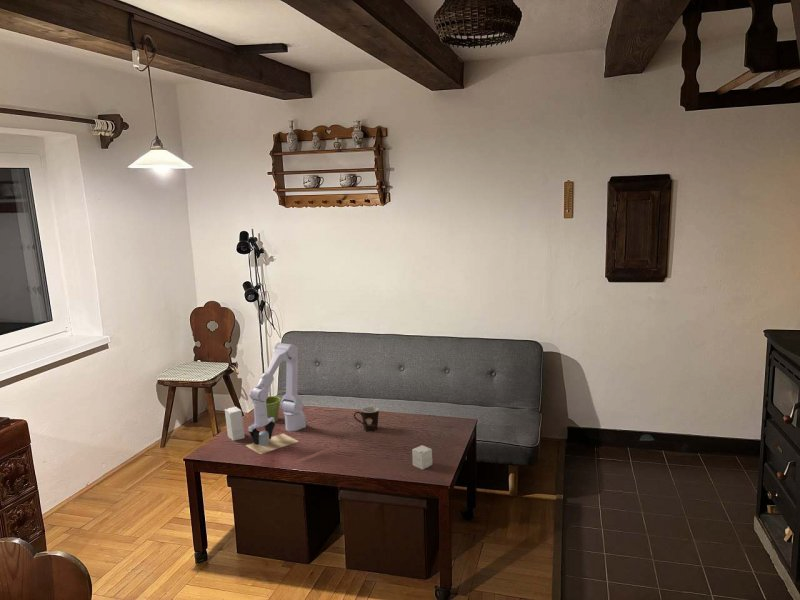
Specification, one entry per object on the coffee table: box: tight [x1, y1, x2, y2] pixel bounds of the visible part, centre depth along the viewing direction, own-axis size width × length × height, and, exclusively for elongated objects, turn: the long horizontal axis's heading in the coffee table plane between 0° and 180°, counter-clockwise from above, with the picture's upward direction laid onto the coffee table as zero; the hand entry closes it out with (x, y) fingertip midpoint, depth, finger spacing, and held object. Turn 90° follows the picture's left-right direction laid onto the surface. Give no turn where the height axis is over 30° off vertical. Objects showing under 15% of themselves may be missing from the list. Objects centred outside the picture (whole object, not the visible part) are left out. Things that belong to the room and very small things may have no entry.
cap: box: [258, 430, 269, 446], centre depth 294 cm, size 5×5×5 cm
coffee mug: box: [353, 406, 380, 432], centre depth 310 cm, size 12×9×10 cm
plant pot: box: [266, 395, 282, 423], centre depth 326 cm, size 12×12×11 cm
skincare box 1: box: [224, 406, 246, 441], centre depth 303 cm, size 8×6×15 cm
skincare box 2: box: [411, 444, 433, 470], centre depth 268 cm, size 6×6×7 cm
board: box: [244, 433, 299, 455], centre depth 295 cm, size 20×14×1 cm
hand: (262, 441), depth 295 cm, fingers open, 7 cm apart
